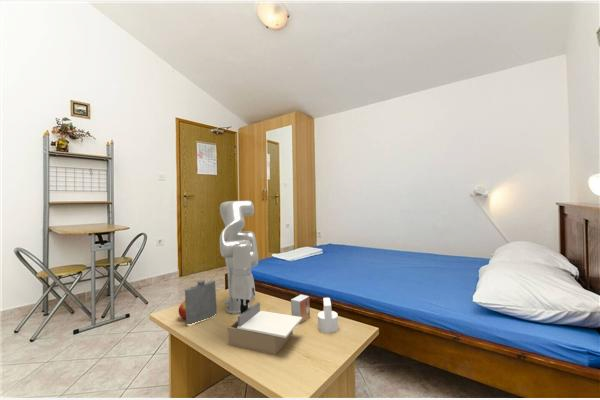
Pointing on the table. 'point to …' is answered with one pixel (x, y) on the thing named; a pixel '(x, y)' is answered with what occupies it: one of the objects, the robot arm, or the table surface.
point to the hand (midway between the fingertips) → (244, 313)
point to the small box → (300, 307)
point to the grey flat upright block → (200, 301)
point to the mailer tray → (255, 340)
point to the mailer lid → (267, 322)
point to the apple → (182, 310)
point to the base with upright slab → (327, 318)
